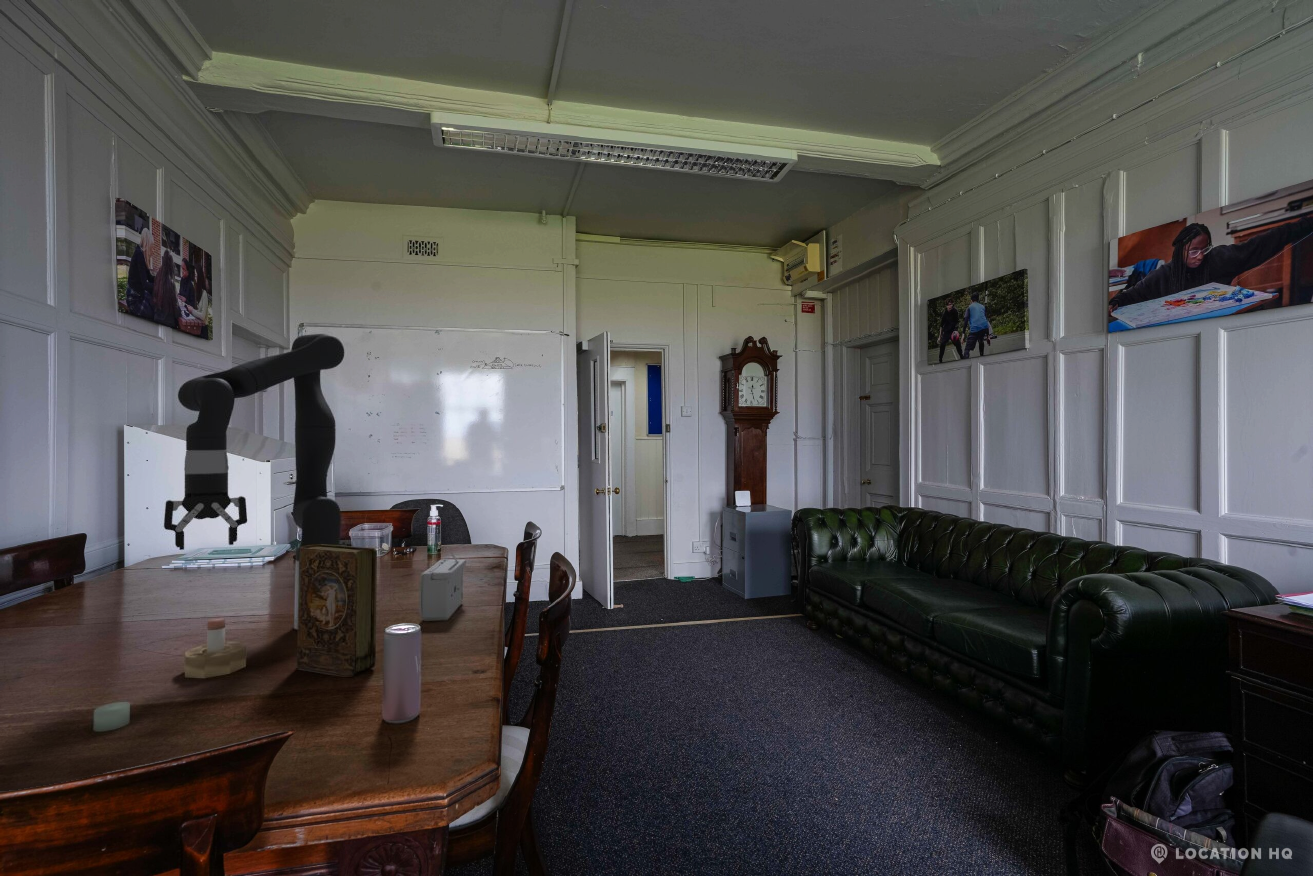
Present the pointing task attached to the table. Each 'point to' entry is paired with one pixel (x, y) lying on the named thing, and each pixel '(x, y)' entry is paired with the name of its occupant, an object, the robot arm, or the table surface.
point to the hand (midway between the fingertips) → (206, 546)
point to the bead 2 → (215, 660)
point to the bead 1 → (111, 716)
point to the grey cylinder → (215, 635)
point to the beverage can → (401, 673)
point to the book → (337, 609)
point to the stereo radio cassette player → (441, 589)
